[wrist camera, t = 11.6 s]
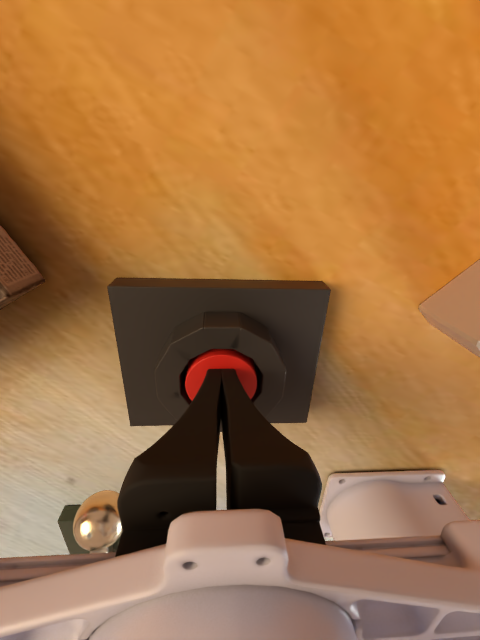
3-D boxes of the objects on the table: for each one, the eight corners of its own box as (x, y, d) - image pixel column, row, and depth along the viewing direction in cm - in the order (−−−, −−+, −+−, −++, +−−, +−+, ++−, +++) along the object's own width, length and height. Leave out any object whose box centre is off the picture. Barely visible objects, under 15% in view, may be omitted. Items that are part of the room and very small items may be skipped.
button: (255, 337, 16) (259, 355, 14) (251, 391, 17) (255, 412, 15) (187, 337, 15) (183, 355, 14) (189, 391, 17) (186, 413, 15)
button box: (322, 280, 16) (344, 303, 13) (301, 407, 20) (315, 446, 17) (116, 277, 15) (91, 300, 12) (136, 410, 19) (121, 451, 16)
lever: (87, 481, 20) (62, 510, 17) (135, 479, 20) (119, 508, 17) (84, 666, 20) (59, 732, 17) (132, 662, 20) (116, 726, 17)
